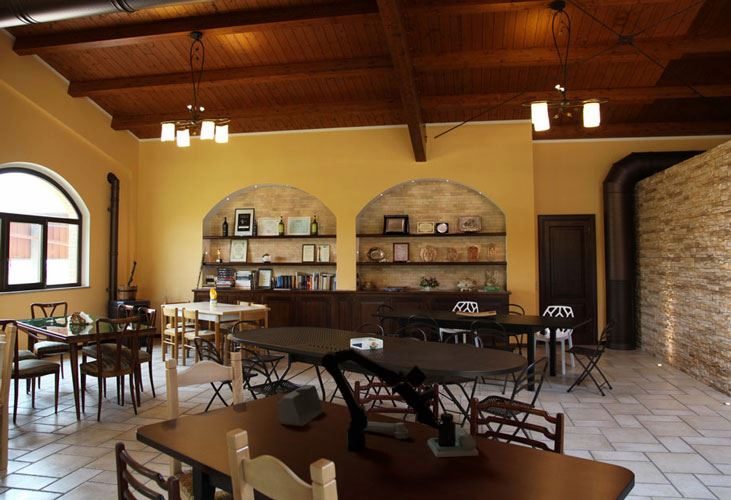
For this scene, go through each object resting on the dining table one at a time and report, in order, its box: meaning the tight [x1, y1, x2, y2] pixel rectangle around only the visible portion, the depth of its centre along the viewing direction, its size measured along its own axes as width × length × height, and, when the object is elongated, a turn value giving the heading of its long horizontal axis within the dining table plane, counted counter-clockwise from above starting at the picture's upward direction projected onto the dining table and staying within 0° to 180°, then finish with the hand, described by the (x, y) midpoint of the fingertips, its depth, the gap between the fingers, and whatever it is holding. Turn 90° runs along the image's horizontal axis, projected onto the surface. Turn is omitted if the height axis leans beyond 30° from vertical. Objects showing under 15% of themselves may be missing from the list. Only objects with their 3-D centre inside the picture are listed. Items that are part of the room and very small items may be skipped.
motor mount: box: [427, 426, 479, 458], centre depth 200 cm, size 16×14×6 cm
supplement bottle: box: [437, 412, 457, 447], centre depth 200 cm, size 7×7×12 cm
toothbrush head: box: [363, 420, 409, 440], centre depth 217 cm, size 5×7×25 cm
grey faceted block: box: [277, 384, 324, 427], centre depth 240 cm, size 25×16×12 cm, turn 162°
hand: (437, 424), depth 200 cm, fingers open, 9 cm apart
